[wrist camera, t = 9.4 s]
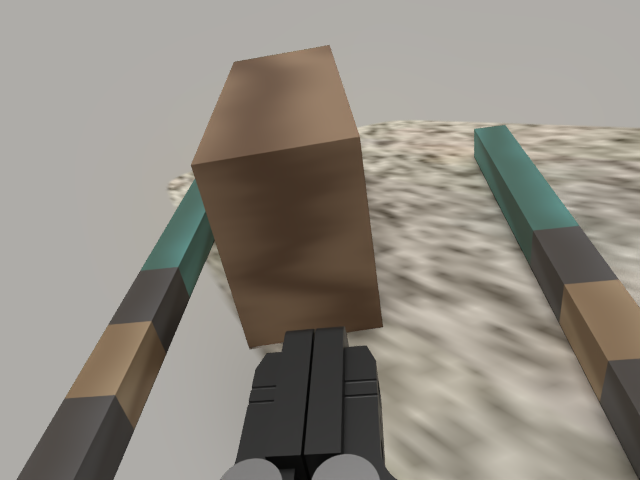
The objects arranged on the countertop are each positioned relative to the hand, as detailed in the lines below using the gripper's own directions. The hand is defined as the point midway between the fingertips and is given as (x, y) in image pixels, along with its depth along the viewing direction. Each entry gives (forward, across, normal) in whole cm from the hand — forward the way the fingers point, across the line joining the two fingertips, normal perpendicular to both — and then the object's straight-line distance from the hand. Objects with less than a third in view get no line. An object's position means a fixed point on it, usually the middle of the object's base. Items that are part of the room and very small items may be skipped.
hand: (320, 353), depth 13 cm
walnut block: (+15, +2, +6) cm, 16 cm away
